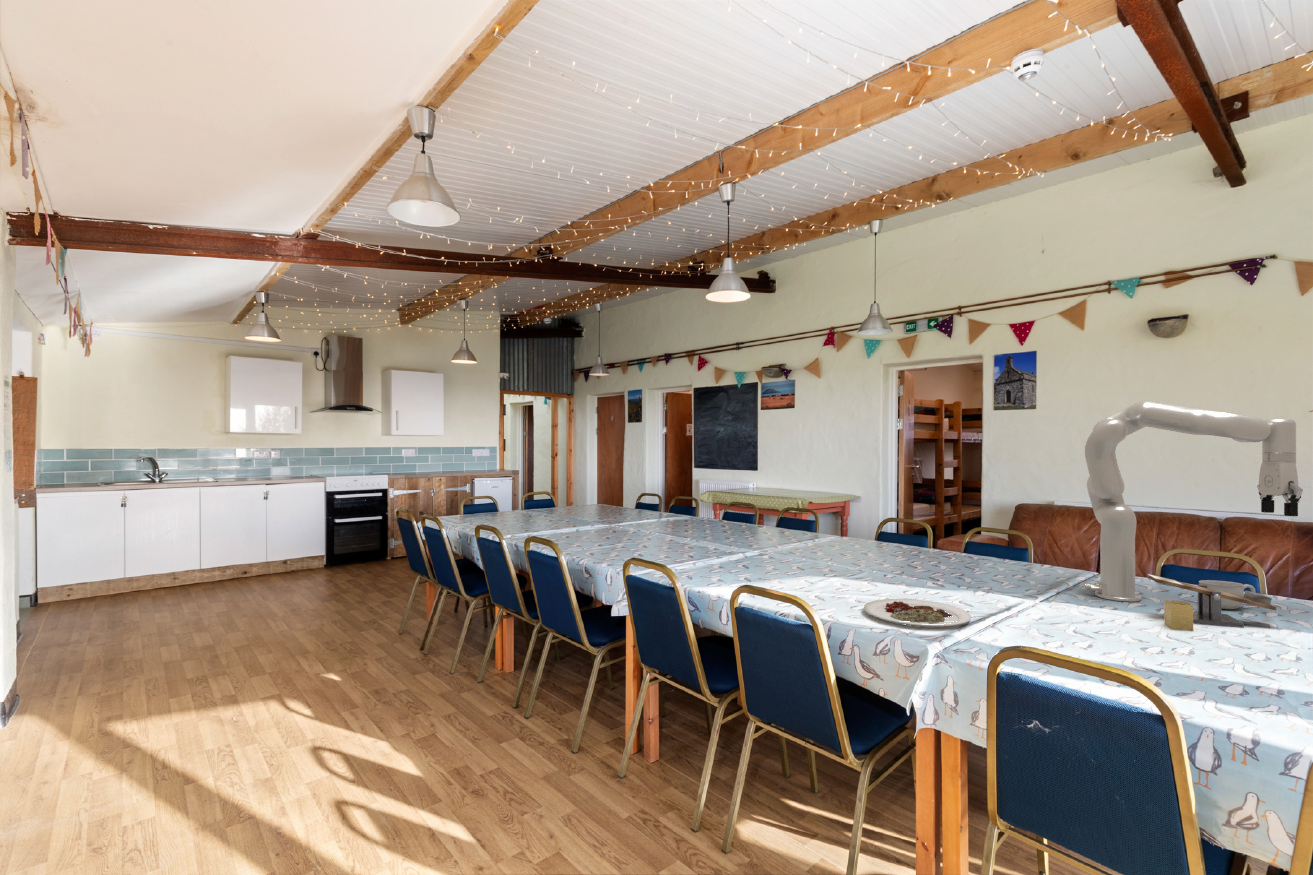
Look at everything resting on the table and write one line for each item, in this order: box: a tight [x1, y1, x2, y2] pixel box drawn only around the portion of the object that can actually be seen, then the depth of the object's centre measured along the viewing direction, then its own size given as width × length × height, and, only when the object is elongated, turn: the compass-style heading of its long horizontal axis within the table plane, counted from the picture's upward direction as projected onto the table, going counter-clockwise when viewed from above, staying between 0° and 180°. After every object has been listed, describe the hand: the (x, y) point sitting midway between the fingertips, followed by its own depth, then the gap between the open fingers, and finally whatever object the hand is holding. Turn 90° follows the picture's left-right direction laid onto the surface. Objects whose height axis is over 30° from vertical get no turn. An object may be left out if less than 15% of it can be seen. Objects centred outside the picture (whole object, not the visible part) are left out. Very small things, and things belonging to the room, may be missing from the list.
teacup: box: [1198, 579, 1256, 610], centre depth 202 cm, size 14×11×8 cm
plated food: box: [863, 598, 972, 628], centre depth 194 cm, size 30×30×3 cm
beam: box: [1147, 573, 1277, 611], centre depth 188 cm, size 28×7×3 cm, turn 69°
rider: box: [1163, 599, 1194, 632], centre depth 181 cm, size 5×5×7 cm
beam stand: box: [1193, 584, 1245, 629], centre depth 188 cm, size 12×11×10 cm
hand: (1279, 514), depth 198 cm, fingers open, 9 cm apart
